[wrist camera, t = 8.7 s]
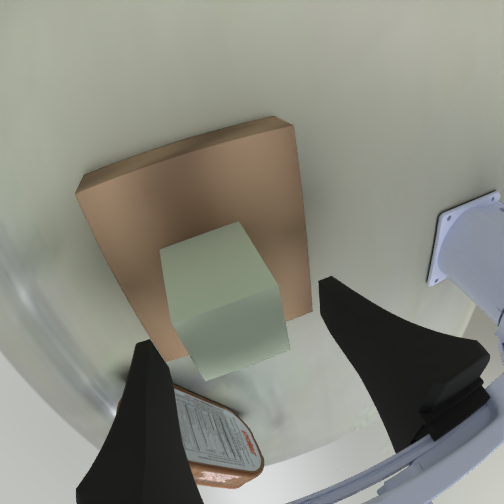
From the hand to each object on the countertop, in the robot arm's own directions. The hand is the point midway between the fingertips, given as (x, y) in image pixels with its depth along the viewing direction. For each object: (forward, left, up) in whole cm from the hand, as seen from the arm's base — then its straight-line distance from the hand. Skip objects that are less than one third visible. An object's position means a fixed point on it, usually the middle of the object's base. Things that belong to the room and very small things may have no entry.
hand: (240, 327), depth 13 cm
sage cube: (0, 0, -4) cm, 4 cm away
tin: (+6, +15, -7) cm, 18 cm away
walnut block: (0, 0, -8) cm, 8 cm away
